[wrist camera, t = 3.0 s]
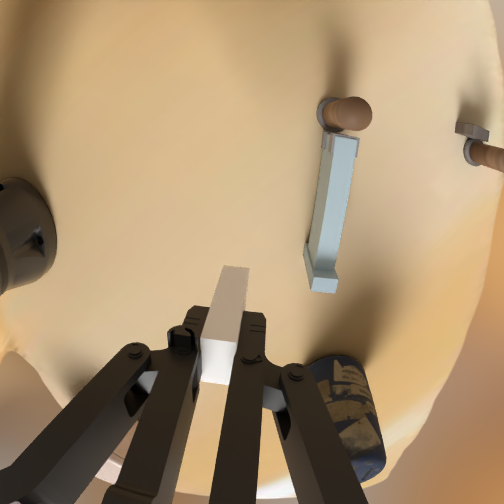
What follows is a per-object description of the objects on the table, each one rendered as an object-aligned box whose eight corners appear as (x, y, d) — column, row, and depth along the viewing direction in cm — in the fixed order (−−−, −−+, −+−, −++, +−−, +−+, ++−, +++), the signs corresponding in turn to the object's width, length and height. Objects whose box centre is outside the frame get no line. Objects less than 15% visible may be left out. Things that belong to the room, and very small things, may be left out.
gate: (321, 130, 27) (337, 134, 21) (342, 134, 27) (365, 139, 21) (303, 254, 33) (311, 291, 26) (322, 256, 33) (335, 293, 26)
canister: (374, 355, 39) (408, 464, 23) (345, 397, 43) (363, 496, 26) (312, 344, 38) (328, 466, 22) (288, 389, 42) (291, 497, 26)
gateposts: (314, 128, 28) (330, 131, 20) (319, 86, 26) (336, 75, 19) (480, 168, 27) (522, 185, 20) (485, 134, 26) (529, 143, 18)
